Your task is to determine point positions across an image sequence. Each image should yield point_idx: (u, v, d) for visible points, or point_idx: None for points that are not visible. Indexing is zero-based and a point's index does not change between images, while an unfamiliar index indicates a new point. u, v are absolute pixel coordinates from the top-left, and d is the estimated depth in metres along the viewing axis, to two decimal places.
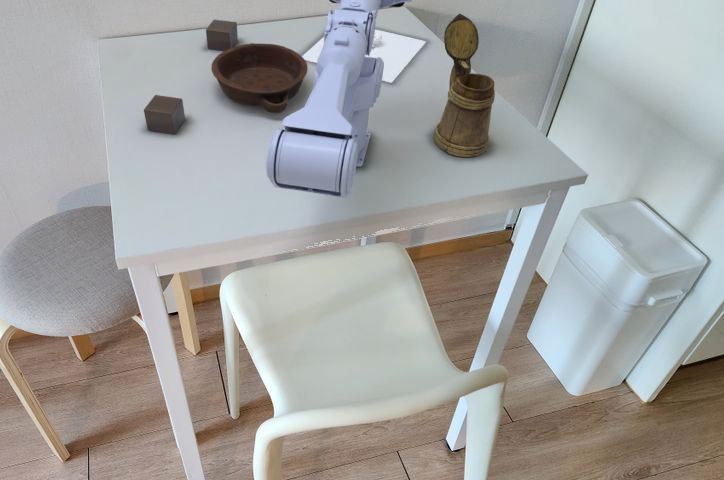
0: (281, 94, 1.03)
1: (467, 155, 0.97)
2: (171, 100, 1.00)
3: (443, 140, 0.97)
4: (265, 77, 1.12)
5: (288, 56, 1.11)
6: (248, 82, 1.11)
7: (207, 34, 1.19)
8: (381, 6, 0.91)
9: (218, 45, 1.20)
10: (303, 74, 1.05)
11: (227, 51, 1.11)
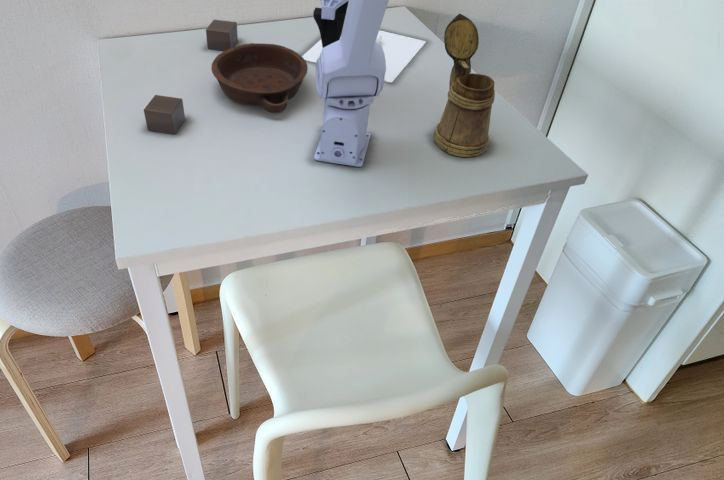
0: (281, 94, 1.03)
1: (467, 155, 0.97)
2: (171, 100, 1.00)
3: (443, 140, 0.97)
4: (265, 77, 1.12)
5: (288, 56, 1.11)
6: (248, 82, 1.11)
7: (207, 34, 1.19)
8: None
9: (218, 45, 1.20)
10: (303, 74, 1.05)
11: (227, 51, 1.11)
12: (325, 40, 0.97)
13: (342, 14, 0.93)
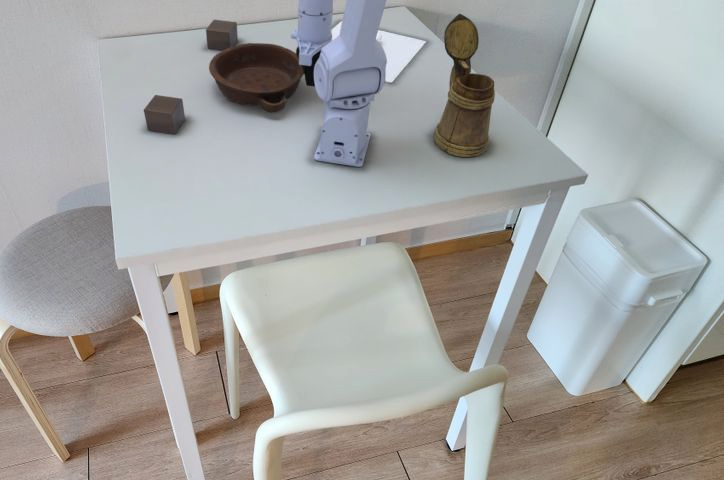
0: (279, 94, 1.03)
1: (467, 155, 0.97)
2: (171, 100, 1.00)
3: (443, 140, 0.97)
4: (263, 77, 1.12)
5: (286, 56, 1.11)
6: (246, 81, 1.11)
7: (207, 34, 1.19)
8: None
9: (218, 45, 1.20)
10: (301, 74, 1.05)
11: (225, 51, 1.11)
12: (307, 74, 1.05)
13: None
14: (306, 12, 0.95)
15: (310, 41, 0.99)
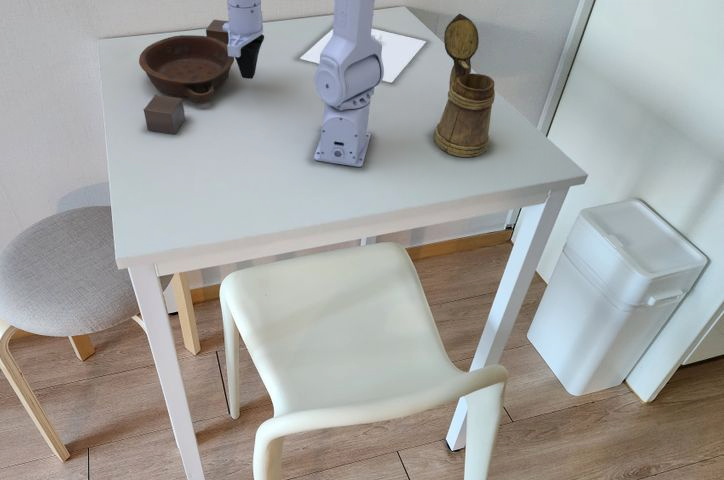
0: (206, 84, 1.05)
1: (467, 155, 0.97)
2: (171, 100, 1.00)
3: (443, 140, 0.97)
4: (195, 68, 1.14)
5: (217, 47, 1.13)
6: (178, 73, 1.12)
7: (207, 34, 1.19)
8: None
9: None
10: (229, 64, 1.07)
11: (157, 43, 1.12)
12: (242, 66, 1.07)
13: (254, 44, 1.03)
14: (240, 5, 0.97)
15: (240, 33, 1.00)
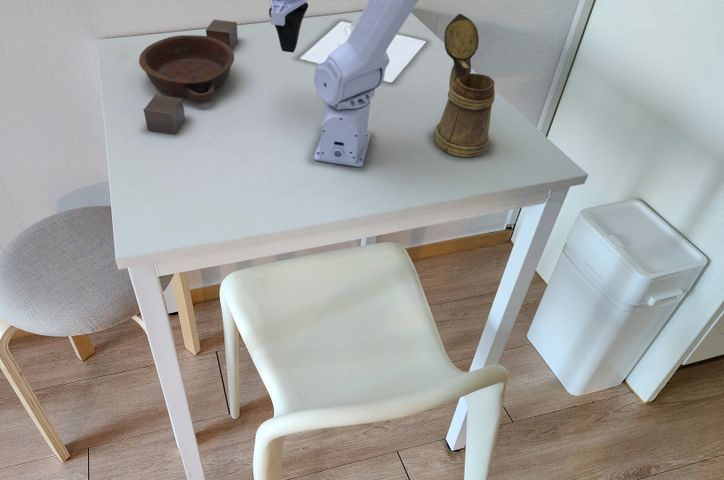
0: (206, 84, 1.05)
1: (467, 155, 0.97)
2: (171, 100, 1.00)
3: (443, 140, 0.97)
4: (195, 68, 1.14)
5: (217, 47, 1.13)
6: (178, 73, 1.12)
7: (207, 34, 1.19)
8: None
9: None
10: (229, 64, 1.07)
11: (157, 43, 1.12)
12: (282, 38, 0.97)
13: (298, 12, 0.93)
14: None
15: None
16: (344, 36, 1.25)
